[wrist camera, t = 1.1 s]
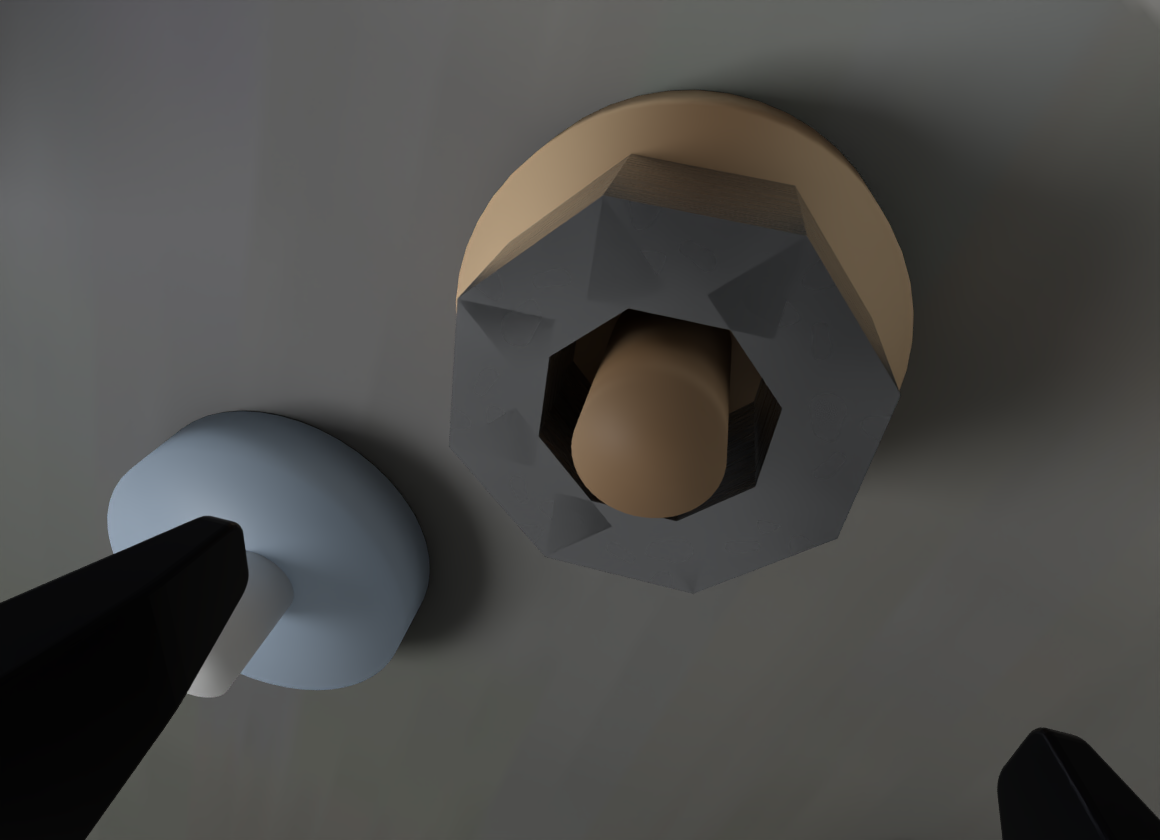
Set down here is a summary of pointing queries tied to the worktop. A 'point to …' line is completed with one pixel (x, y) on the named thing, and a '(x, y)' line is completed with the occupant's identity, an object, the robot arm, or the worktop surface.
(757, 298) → the ring
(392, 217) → the worktop surface
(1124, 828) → the robot arm
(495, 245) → the stand
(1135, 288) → the worktop surface
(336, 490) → the hub
